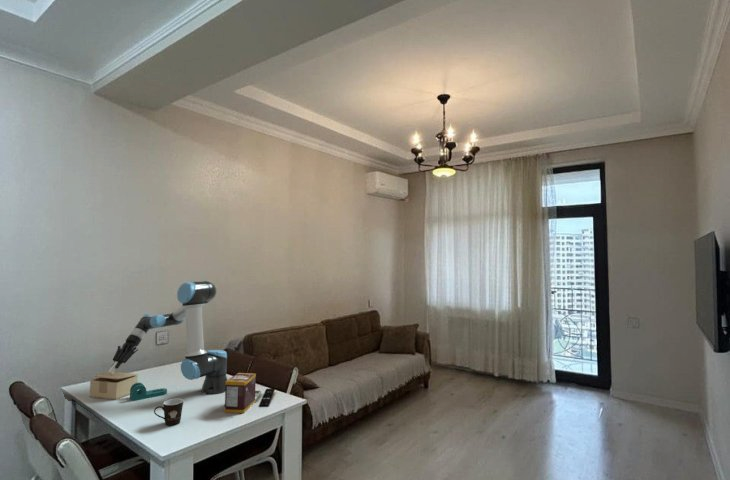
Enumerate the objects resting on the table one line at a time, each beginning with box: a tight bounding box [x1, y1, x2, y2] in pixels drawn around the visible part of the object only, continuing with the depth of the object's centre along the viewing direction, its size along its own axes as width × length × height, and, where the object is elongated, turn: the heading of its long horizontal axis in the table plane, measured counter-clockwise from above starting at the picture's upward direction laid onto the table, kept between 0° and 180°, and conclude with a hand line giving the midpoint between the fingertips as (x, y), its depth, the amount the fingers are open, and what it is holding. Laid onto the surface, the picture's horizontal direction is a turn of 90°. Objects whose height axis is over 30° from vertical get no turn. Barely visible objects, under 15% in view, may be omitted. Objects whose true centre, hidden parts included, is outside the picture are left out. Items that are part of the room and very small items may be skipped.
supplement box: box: [224, 372, 257, 414], centre depth 203 cm, size 10×15×16 cm
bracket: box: [129, 381, 168, 402], centre depth 217 cm, size 18×7×8 cm, turn 129°
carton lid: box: [90, 371, 139, 379], centre depth 220 cm, size 14×18×1 cm
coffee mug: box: [153, 398, 184, 427], centre depth 182 cm, size 12×9×10 cm
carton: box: [89, 375, 138, 401], centre depth 219 cm, size 14×18×9 cm
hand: (110, 373), depth 217 cm, fingers closed
